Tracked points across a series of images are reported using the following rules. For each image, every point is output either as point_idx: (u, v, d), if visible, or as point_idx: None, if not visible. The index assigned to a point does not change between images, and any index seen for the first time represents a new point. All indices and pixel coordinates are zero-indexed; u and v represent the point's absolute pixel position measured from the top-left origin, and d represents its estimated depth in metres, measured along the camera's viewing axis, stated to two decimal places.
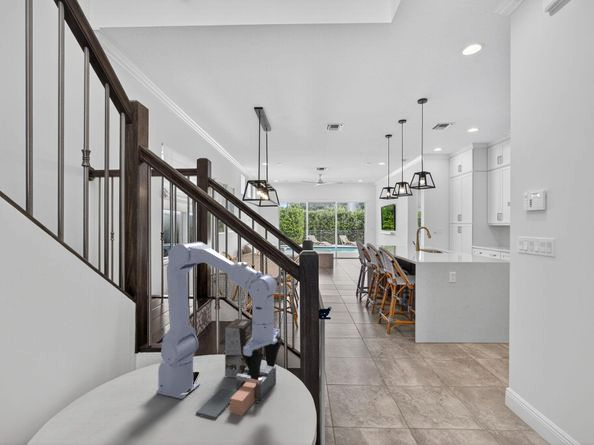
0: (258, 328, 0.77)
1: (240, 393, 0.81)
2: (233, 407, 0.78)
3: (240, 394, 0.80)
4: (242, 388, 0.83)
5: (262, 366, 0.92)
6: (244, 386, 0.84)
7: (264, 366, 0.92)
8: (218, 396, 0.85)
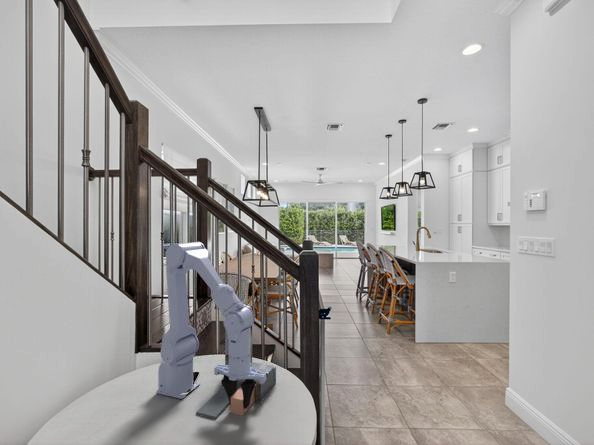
0: None
1: (240, 392, 0.81)
2: (233, 406, 0.78)
3: (240, 393, 0.80)
4: None
5: (262, 366, 0.92)
6: None
7: (264, 366, 0.92)
8: (218, 396, 0.85)
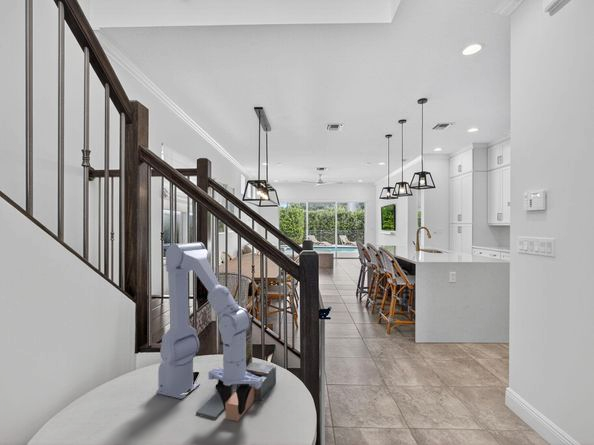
0: None
1: (235, 397, 0.79)
2: (228, 411, 0.76)
3: (236, 398, 0.78)
4: None
5: (262, 366, 0.92)
6: None
7: (264, 366, 0.92)
8: (218, 396, 0.85)
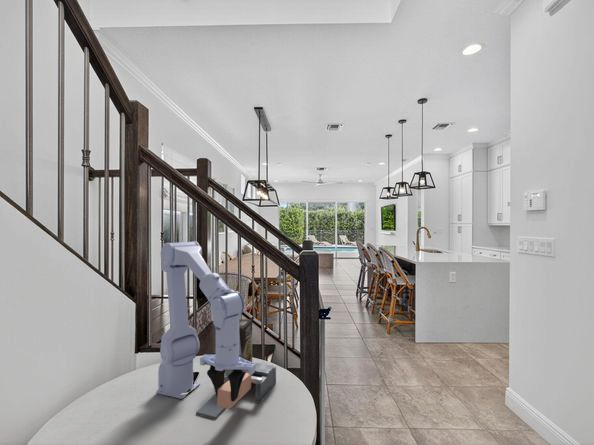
0: None
1: (229, 384, 0.76)
2: (220, 398, 0.73)
3: (229, 386, 0.75)
4: None
5: (262, 366, 0.92)
6: None
7: (264, 366, 0.92)
8: None
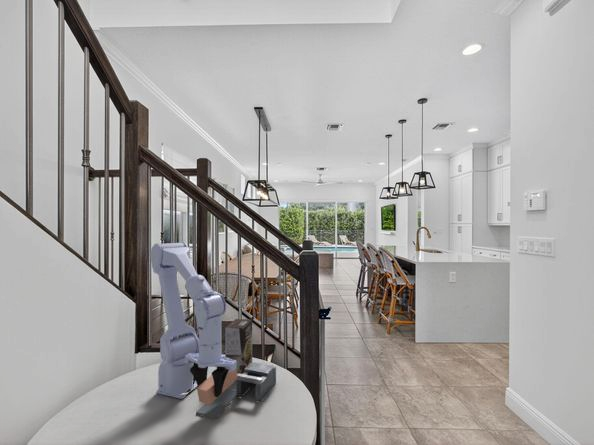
0: None
1: (209, 381, 0.79)
2: (200, 395, 0.77)
3: (208, 383, 0.78)
4: None
5: (262, 366, 0.92)
6: None
7: (264, 366, 0.92)
8: (218, 396, 0.85)
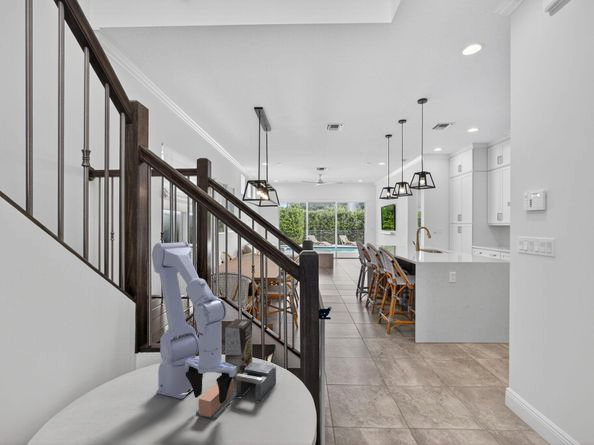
0: None
1: (210, 393, 0.79)
2: (201, 407, 0.77)
3: (209, 395, 0.79)
4: (212, 388, 0.82)
5: (262, 366, 0.92)
6: (215, 386, 0.83)
7: (264, 366, 0.92)
8: None
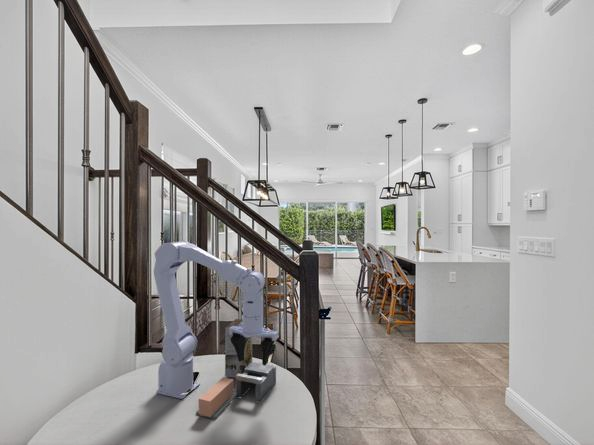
0: None
1: (210, 393, 0.79)
2: (201, 407, 0.77)
3: (209, 395, 0.79)
4: (212, 388, 0.82)
5: (262, 366, 0.92)
6: (215, 386, 0.83)
7: (264, 366, 0.92)
8: None
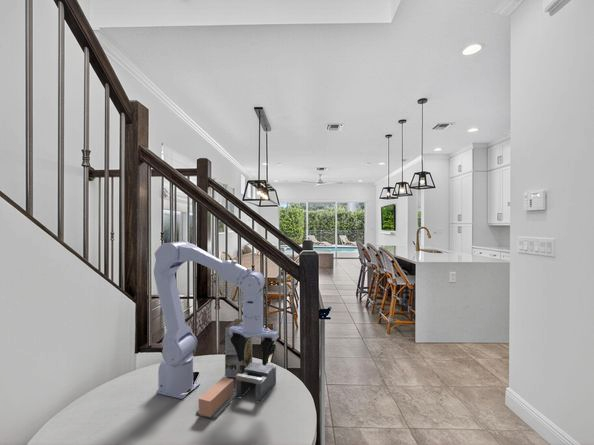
0: None
1: (210, 393, 0.79)
2: (201, 407, 0.77)
3: (209, 395, 0.79)
4: (212, 388, 0.82)
5: (262, 366, 0.92)
6: (215, 386, 0.83)
7: (264, 366, 0.92)
8: None
